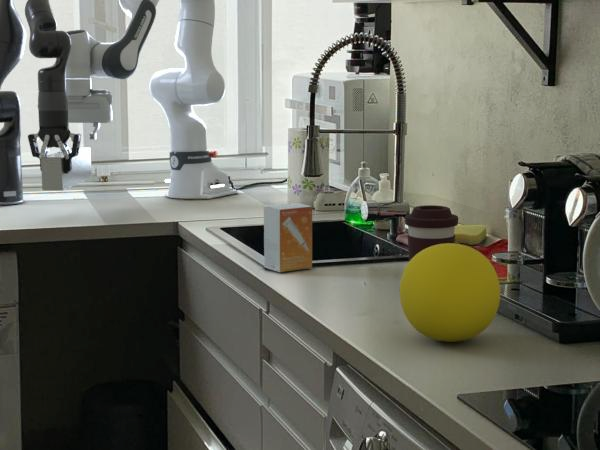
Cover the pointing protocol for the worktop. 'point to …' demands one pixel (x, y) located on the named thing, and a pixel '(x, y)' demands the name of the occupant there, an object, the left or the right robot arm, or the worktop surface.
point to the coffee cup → (429, 227)
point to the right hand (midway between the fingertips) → (76, 139)
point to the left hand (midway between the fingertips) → (56, 172)
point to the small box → (288, 237)
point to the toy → (450, 292)
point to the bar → (56, 170)
